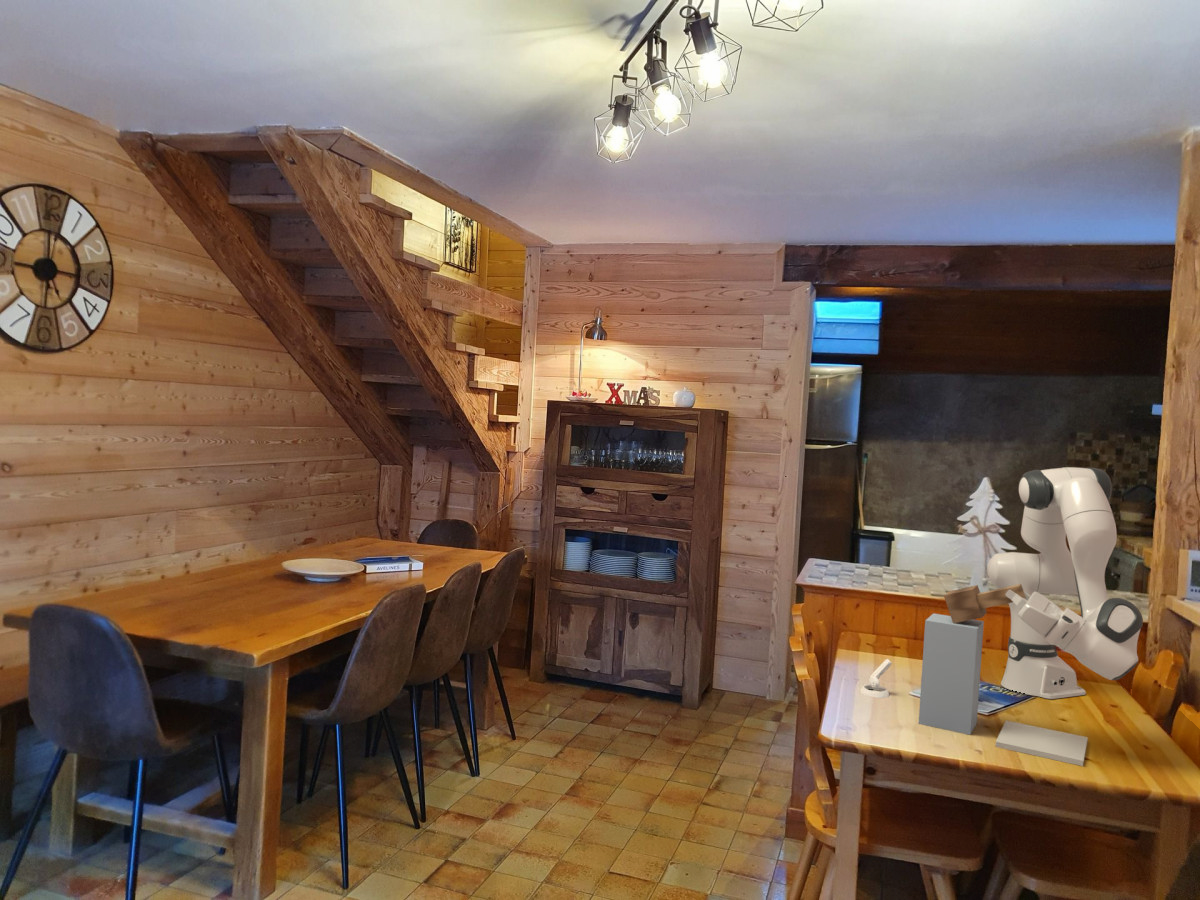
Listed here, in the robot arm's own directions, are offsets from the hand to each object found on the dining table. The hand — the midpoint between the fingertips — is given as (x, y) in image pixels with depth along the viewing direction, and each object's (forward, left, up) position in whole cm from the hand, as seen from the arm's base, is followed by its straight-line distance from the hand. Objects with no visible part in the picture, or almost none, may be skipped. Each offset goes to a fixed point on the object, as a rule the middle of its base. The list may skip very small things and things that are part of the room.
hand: (1008, 590), depth 212 cm
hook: (+15, -32, -36) cm, 50 cm away
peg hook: (+2, -3, -6) cm, 7 cm away
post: (+8, -8, -35) cm, 37 cm away
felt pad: (-6, +7, -35) cm, 37 cm away
